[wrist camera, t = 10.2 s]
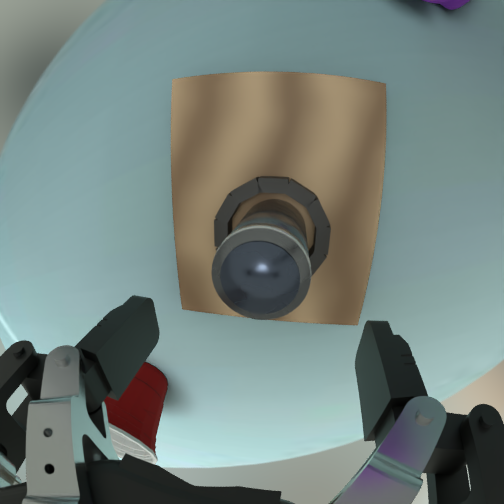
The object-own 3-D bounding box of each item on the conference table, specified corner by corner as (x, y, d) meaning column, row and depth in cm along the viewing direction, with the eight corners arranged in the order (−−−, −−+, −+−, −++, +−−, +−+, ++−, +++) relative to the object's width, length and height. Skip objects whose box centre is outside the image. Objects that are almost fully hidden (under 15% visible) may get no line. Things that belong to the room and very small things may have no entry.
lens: (308, 200, 19) (317, 234, 12) (303, 263, 21) (305, 326, 13) (241, 196, 20) (207, 226, 12) (241, 258, 22) (211, 317, 14)
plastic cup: (169, 411, 34) (139, 473, 23) (108, 369, 33) (67, 426, 22) (202, 383, 30) (169, 464, 19) (128, 331, 29) (72, 401, 18)
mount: (381, 86, 16) (393, 78, 13) (355, 317, 23) (360, 336, 21) (178, 82, 18) (162, 74, 16) (186, 302, 25) (175, 319, 23)
